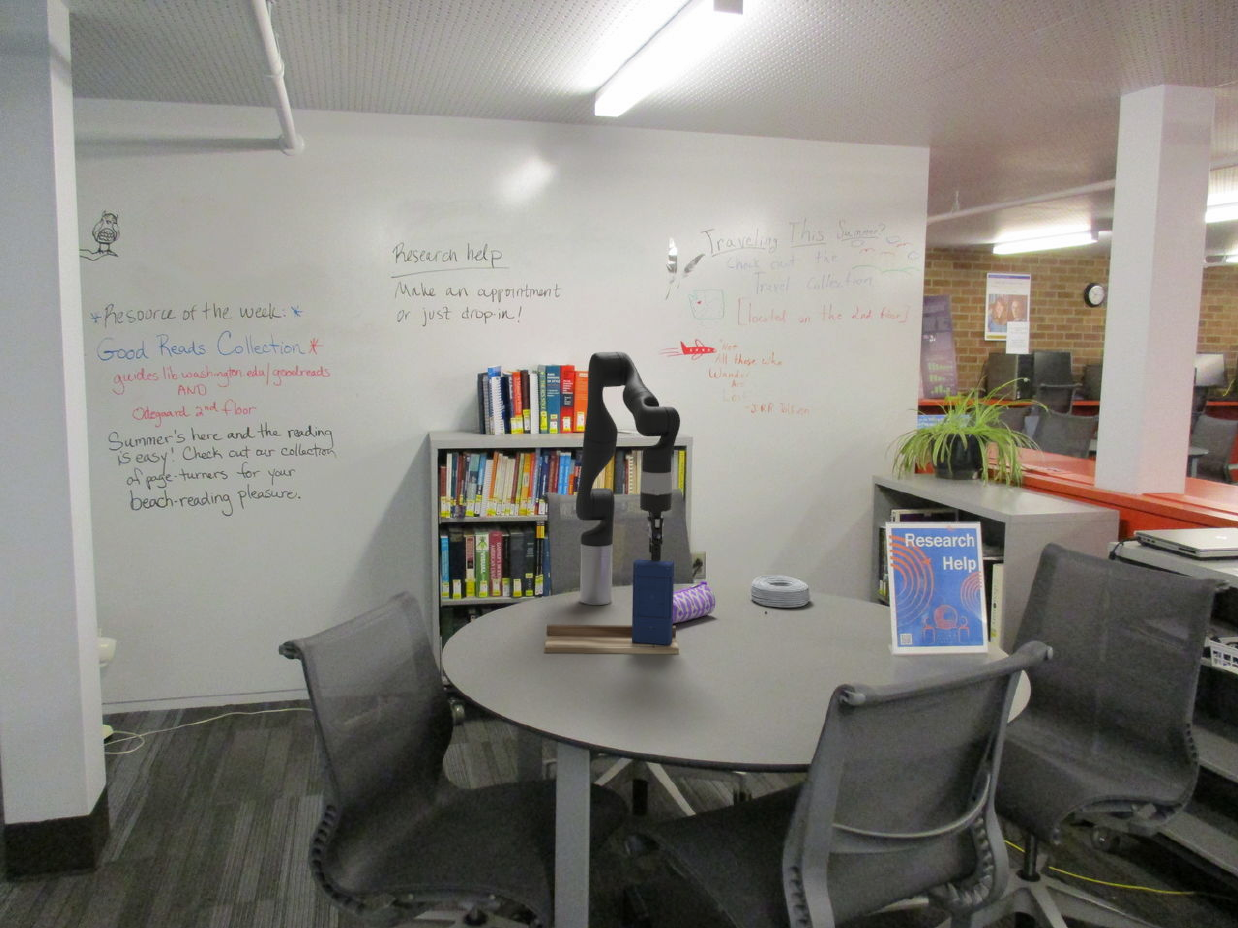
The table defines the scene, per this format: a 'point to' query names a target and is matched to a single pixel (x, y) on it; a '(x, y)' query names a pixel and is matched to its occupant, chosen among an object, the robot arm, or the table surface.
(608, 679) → the table surface
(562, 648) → the guide board
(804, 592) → the cable
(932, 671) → the table surface
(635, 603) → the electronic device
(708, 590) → the pencil case
